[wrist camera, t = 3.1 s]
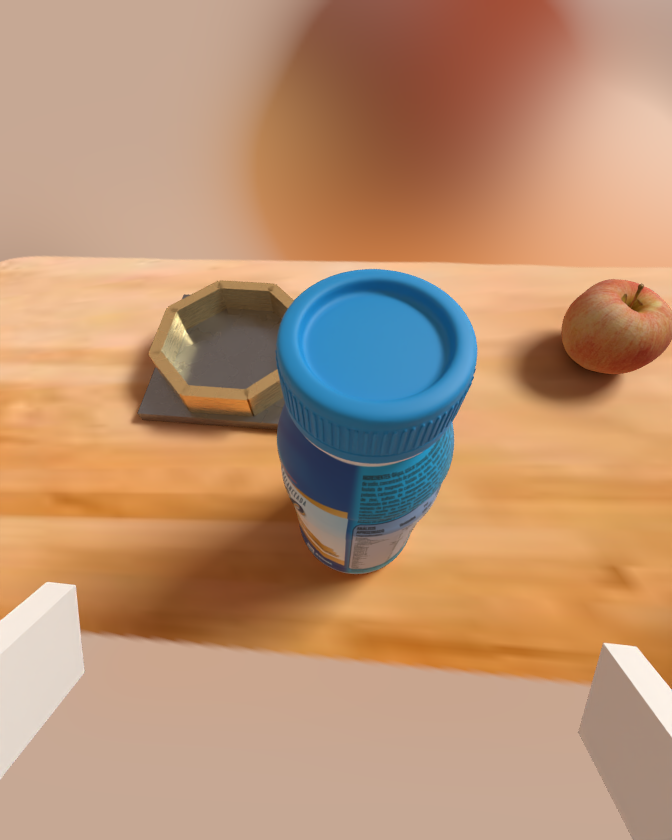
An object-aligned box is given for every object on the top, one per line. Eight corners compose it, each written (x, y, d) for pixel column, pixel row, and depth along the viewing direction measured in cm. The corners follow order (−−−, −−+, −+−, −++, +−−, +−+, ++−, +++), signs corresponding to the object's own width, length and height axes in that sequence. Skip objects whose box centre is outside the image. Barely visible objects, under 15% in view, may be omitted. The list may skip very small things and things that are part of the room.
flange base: (323, 310, 41) (321, 282, 38) (305, 431, 34) (302, 409, 31) (187, 302, 42) (175, 274, 39) (142, 419, 35) (123, 396, 32)
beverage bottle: (403, 590, 28) (509, 478, 11) (284, 562, 29) (205, 418, 12) (418, 477, 32) (511, 266, 15) (313, 456, 33) (287, 234, 16)
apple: (532, 329, 40) (572, 260, 33) (607, 318, 41) (663, 248, 34) (570, 397, 36) (626, 334, 29) (653, 383, 37) (727, 319, 30)
